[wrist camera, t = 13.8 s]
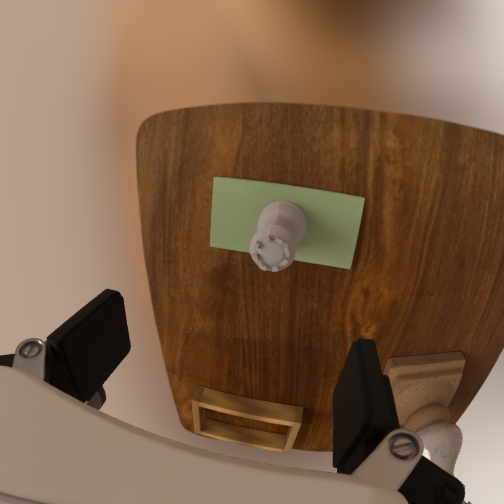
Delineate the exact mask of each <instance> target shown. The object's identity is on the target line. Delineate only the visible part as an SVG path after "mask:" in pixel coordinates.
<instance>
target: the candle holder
mask: <svg viewBox="0 0 504 504" xmlns="http://www.w3.org/2000/svg"><path fill="white" fill-rule="evenodd" d="M465 362H466V359H465V357H464V355H463V353H462V352H460V351H458V352H447V353H438V354H429V355H418V356H405V357H395V358H390V359H388V361H387V363H386V367H385V370H384V373H383V375H388V377H389V379H390V383H391V387H392V392H393V396H394V400H395V405H396V410H397V415H398V419H399V424H400V425H404V427H403V429H409V430H411V431H413V432H415V433H416V434H418V435H419V436H420V438H421V439H422V441H423V444H424V452H423V454H422V455H423V456H425V457H426V458H428V459H429V460H430V461H432V462H433V463H435V464H436V465H438V466H439V467H441V468H442V469H443V470H445V471H446V472H448V473H449V474H451V475H452V476H454V475H453V471H454V466H455V463H456V460H457V457H458V455H459V452H460V449H461V446H462V439H463V437H462V432H461V430H460V428H459V427H458V426H457V425H455V424H453V423H450V422H449V421H450V415H451V414H450V411H449V409H448V408H447V407H448V406H449V404H450V402H451V400H452V398H453V396H454V394H455V392H456V390H457V388H458V386H459V383H460V381H461V378H462V374H463V368H464V365H465ZM463 486H464V489H465V485H464V484H463Z"/></svg>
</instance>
